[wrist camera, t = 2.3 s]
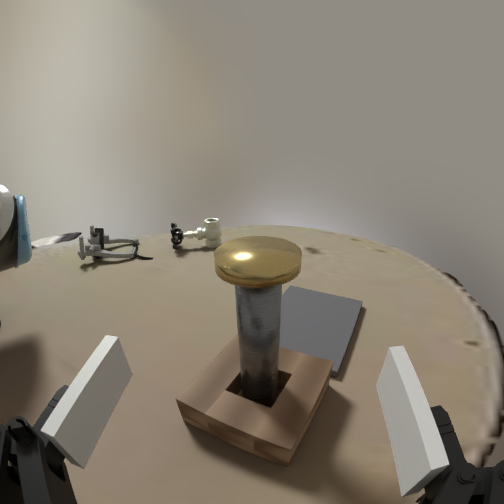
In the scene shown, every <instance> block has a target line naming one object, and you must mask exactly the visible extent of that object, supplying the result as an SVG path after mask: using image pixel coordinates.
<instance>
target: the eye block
mask: <svg viewBox="0 0 504 504" xmlns="http://www.w3.org/2000/svg"><path fill="white" fill-rule="evenodd" d="M333 363H334V361H330V360H326V359H323V358H319V357H315V356H312V355H308V354H304V353H301V352H297V351H294V350H290V349H287V348H284V347H280V346H279V366H278V385H277V400H276V402H275V403H274V405H273V406H272V408H269V407H266V406H264V405H261V404H258V403H256V402H253V401H251V400H248V399H245V398H243V396H242V383H241V370H240V356H239V341H238V334H237V335H236V336H235V337H234V338H233V339H232V340H231V341H230V342H229V344H228V345H227V346H226V347H225V348H224V349H223V350H222V351H221V352H220V353H219V354H218V355H217V356H216V357H215V358H214V359H213V361H212V362H211V363H210V364H209V365H208V366H207V367H206V368H205V369H204V370H203V371H202V372H201V373H200V374H199V375H198V376H197V377H196V378H195V379H194V380H193V381H192V382H191V383H190V384H189V385H188V386H187V387H186V388H185V389H184V390H183V391H182V393H181V394H180V395H179V396H178V397H177V398H176V401H177V404H178V407H179V410H180V412H181V415H182V418H183V420H184V421H186V422H188V423H190V424H191V425H193V426H195V427H197V428H199V429H201V430H203V431H205V432H207V433H209V434H211V435H213V436H215V437H217V438H219V439H221V440H223V441H225V442H227V443H229V444H231V445H234V446H236V447H238V448H240V449H243V450H245V451H247V452H250V453H252V454H255V455H257V456H259V457H262V458H264V459H267V460H270V461H272V462H275V463H278V464H280V465H283V466H286V467H288V465H289V464H290V462H291V460H292V458H293V456H294V455H295V453H296V451H297V449H298V447H299V445H300V443H301V441H302V439H303V438H304V436H305V434H306V432H307V430H308V428H309V426H310V424H311V422H312V420H313V417H314V415H315V413H316V411H317V409H318V407H319V405H320V403H321V400H322V398H323V396H324V394H325V391H326V389H327V387H328V385H329V380H330V376H331V372H332V367H333Z"/></svg>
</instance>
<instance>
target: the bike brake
mask: <svg viewBox="0 0 504 504" xmlns="http://www.w3.org/2000/svg"><path fill="white" fill-rule="evenodd" d="M90 234H91V237H89V238H88V242H89V243H90V244H85V249H84V244H83V236H80V237H79V241H80V250H78V255H79V256H80V258H81V260H84V259H85V257H86V256H92V258H101V256H102V257H111V258H134V256H136V257H138V258H141V259H146V260H150V259H153V258H149V257H143V256H139V255H137V254H136V249H137V244H139V242H138V241H139V239H137V238H135V239H132V238H109V235H105V234H104V230H103V228H95V232H94V226H93V225H91V226H90ZM111 243H133V247H132V249H131V251H132V252H131V251H130V253H116V252H110V251H106V250H104V244H111Z"/></svg>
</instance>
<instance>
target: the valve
mask: <svg viewBox="0 0 504 504" xmlns="http://www.w3.org/2000/svg"><path fill="white" fill-rule="evenodd" d="M204 226H205V229H202V228H197V231H195V232H192V231H187V233H183V231H181V229H176V228H175V227H177V224H176V223H172V224H171V227H172V229H171V234H172V238H171V241H172V242H173V249H178V245H179V244H181V242H182V239H184V237H187V238H188V239H190V238H193V237H195V238H198V240H202V239H203V238H206V246H208V247H209V248H215V247H219V246H220V245H221V238H220V237H221V229H220V227H219V226H220V220H219V219H217V218H209V219H206V220H205V221H204ZM178 231H179V232H178ZM178 240H180V242H179V241H178Z"/></svg>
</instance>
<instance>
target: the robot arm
mask: <svg viewBox="0 0 504 504" xmlns="http://www.w3.org/2000/svg"><path fill="white" fill-rule="evenodd" d="M31 256H32V248H31V241H30V233H29V225H28V218H27V211H26V203H25V198H24V196H23V195H14V196H13V197H12V196H11V194H10V192H9V190H8V189H7V188H6V187H4V186H2V185H0V272H1V271H4V270H7V269H10V268H13V267H15V268H17V267H18V266H19V265H21V264H24V263H27V262H28V261H29V260H30V259H31ZM0 325H1V322H0ZM132 375H133V374H132V372H131V370H130V367H129V365H128V362H127V359H126V357H125V354H124V352H123V349H122V346H121V343H120V341H119V338H118V337H115V336H109V335H106V336H105V338H104V339H103V340H102V342H101V343H100V344H99V346H98V347H97V348H96V350H95V351H94V352H93V354H92V355H91V357H90V358H89V359H88V361H87V362H86V363H85V365H84V366H83V368H82V369H81V370H80V372H79V373H78V375H77V376H76V378H75V379H74V380H73V382H72V383H71V385H70V386H67V385H64V386H63V387H62V388H60V389H59V390H58V391H57V392H56V393H55V395H54V396H53V398H52V400H51V401H50V402H49V403H48V406H46V408H45V409H44V411H43V412H42V414H41V415H40V417H39V418H38V420H37V421H36V423H35V425H34V426H33V427H31V426H30V424H29V423H28V422H27V421H26V420H25V419H24V418H22V417H14V418H12V419H11V420H10V421H9V422H8V423H7V425H6V428H5V427H4V426H3V425H2V424H0V504H77V501H76V498H75V495H74V492H73V489H72V486H71V482H70V479H69V475H68V472H67V468H66V465H65V463H64V459H65V457H66V458H67V459H68V460H69V461H70V462H71V463H72V464H74V465H76V466H78V467H81V468H83V469H84V468H85V466H86V464H87V462H88V460H89V458H90V456H91V454H92V452H93V450H94V448H95V446H96V444H97V442H98V440H99V438H100V436H101V434H102V432H103V430H104V428H105V426H106V424H107V422H108V420H109V418H110V416H111V414H112V412H113V410H114V408H115V406H116V405H117V403H118V401H119V399H120V397H121V395H122V393H123V391H124V389H125V388H126V386H127V384H128V382H129V380H130V378H131V377H132ZM376 388H377V392H378V395H379V399H380V403H381V406H382V410H383V414H384V418H385V422H386V426H387V430H388V434H389V438H390V442H391V447H392V451H393V456H394V460H395V465H396V470H397V475H398V480H399V485H400V491H401V497H403V496H407V495H411V494H415V493H418V492H419V491H421V490H422V489H423V488H424V489H425V494H423V495H422V496H421V497H420V498H418V500H417V501H416V502H417V503H418V502H419V501H420V502H419V504H504V460H503V461H501V462H499V463H498V464H497V465H496V466H494V467H485V468H476V467H475V466H474V465H472V464H471V463H468V462H467V461H466V460H465V458H464V455H463V452H462V449H461V446H460V444H459V441H458V438H457V436H456V433H455V432H454V428H453V425H451V420H450V418H449V415H448V413H447V412H446V411H445V410H444V409H443V408H442V407H441V406H440V405H439V406H435V407H429V404H428V402H427V399H426V396H425V394H424V392H423V389H422V387H421V384H420V382H419V380H418V377H417V375H416V373H415V370H414V368H413V366H412V363H411V361H410V359H409V357H408V354H407V352H406V350H405V348H404V346H396V347H389V349H388V353H387V356H386V359H385V362H384V365H383V367H382V370H381V373H380V376H379V379H378V381H377V384H376ZM8 460H9V461H10V465H9V466H8Z"/></svg>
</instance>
